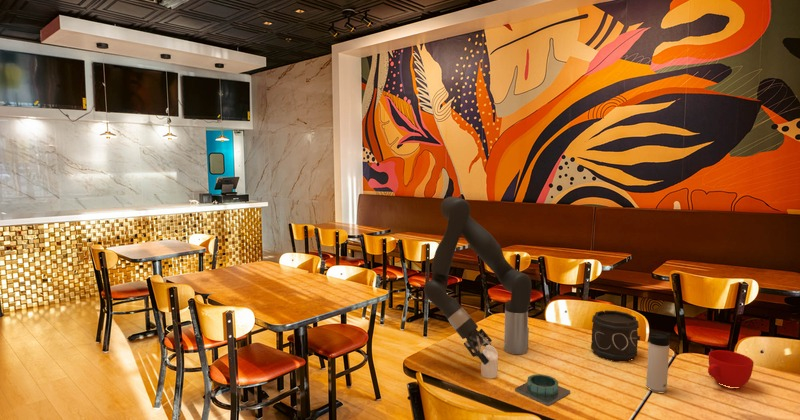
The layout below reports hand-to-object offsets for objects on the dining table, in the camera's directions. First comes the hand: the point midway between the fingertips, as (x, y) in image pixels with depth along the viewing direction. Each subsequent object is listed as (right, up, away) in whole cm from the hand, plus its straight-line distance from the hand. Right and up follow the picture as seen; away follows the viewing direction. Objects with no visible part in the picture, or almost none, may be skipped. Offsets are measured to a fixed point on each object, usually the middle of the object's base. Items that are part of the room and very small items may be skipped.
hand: (491, 358), depth 177 cm
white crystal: (-1, -7, +1) cm, 7 cm away
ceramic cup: (+80, -7, -8) cm, 81 cm away
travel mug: (+55, -8, -10) cm, 57 cm away
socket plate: (+15, -8, -12) cm, 21 cm away
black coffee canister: (+54, -4, +20) cm, 58 cm away
